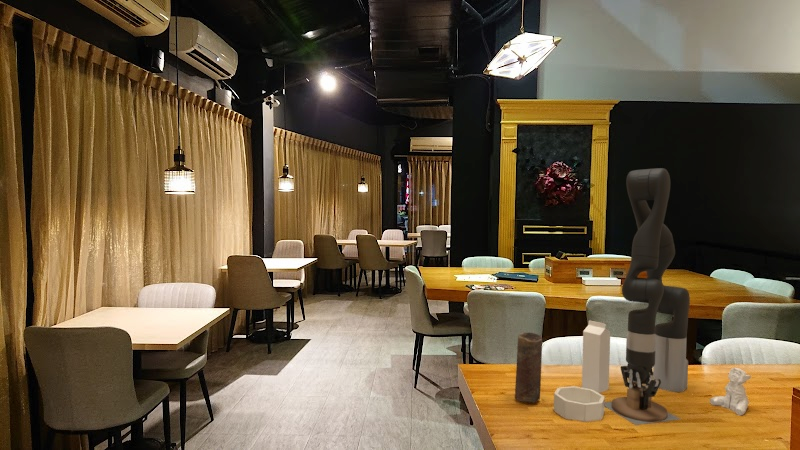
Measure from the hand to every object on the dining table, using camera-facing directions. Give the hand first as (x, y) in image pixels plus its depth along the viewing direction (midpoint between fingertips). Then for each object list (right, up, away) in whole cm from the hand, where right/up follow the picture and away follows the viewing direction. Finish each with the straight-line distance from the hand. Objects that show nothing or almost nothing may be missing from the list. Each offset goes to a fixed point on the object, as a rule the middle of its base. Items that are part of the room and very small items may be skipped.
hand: (638, 406), depth 140 cm
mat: (0, -2, 0) cm, 2 cm away
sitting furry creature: (+30, -2, +4) cm, 30 cm away
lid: (0, -1, 0) cm, 1 cm away
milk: (-6, -1, +17) cm, 18 cm away
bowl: (-17, -2, -1) cm, 18 cm away
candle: (-30, -1, +7) cm, 31 cm away
